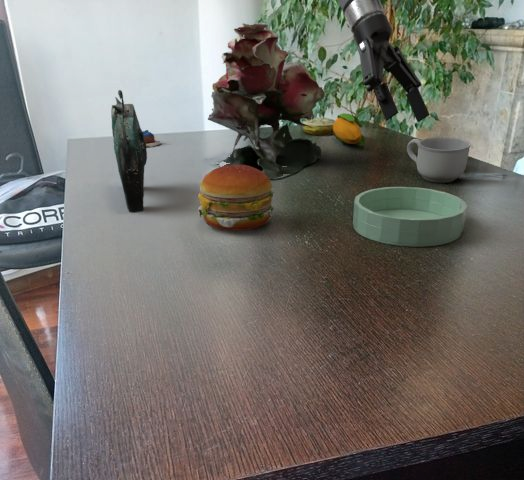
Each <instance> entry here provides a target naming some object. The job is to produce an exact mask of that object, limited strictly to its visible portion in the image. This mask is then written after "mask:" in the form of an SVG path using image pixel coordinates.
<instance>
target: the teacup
mask: <svg viewBox="0 0 524 480" xmlns="http://www.w3.org/2000/svg"><path fill="white" fill-rule="evenodd" d="M415 144H416V145H417V155H416V154H415V152H414V151H413V146H414V145H415ZM471 146H472V145H471V142H470V141H468V140H466V139H463V138H459V137H451V136H431V137H426V138H422V139H419V138H413V139H411V140H410V141H409V142H408V143H407V145H406V152H407V154H408V156H409V158H410V159H411V160H412V161H413V162H414V163H415V164H416V165H415V166H416V169H417V172H418V174H419V175H420V176H422V178H423V179H424V180H425V181H428V182H431V183H437V184H445V183H446V182H447V183H451V182H454V181H455V180H457V178H459V177H461V176H462V175H463V174H464V173H465V170H466V168H467V164H468V161H469V160H468V159H469V153H470V149H471Z"/></svg>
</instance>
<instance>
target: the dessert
mask: <svg viewBox="0 0 524 480" xmlns="http://www.w3.org/2000/svg"><path fill="white" fill-rule="evenodd" d="M142 132H143V135H144V139H145V142H146V146H147V147H150V148H153V147H156V146H159V145H161V144H162V142H161V141H160V140H157V139H155V134H154V133H152V132H151V131H149V130H148V129H145V130H142Z"/></svg>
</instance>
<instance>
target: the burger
mask: <svg viewBox="0 0 524 480" xmlns="http://www.w3.org/2000/svg"><path fill="white" fill-rule="evenodd" d="M262 171H263V170H260V169H258V168H256V167H251V166H247V165H226V166H222V167H219V166H218V167H217V168H214V169H213V170H211V171H209V173H207V174H205V176H203V178H202V180H201V182H200V186H199V191H200V193H198V195H197V197H198V200H199V204H200V206H199V207H198V208H197V209H198V210H197V211H198V216H199V218H203V220H204V222H205V223H206V224H207V225H208V226H210V227H213V228H215V229H221V230H224V231H225V230H226V231H244V230H245V231H247V230H252V229H256V228H260V227H261V226H264V225H266V224H267V222H269V220H270V218H272V217H273V216H272V215H273V211H274V210H275V207H274V206H273V204H272V199H273V197H274V191H273V189H272V188H273V185H272V180H270V179H269V178H268V177H267V176H266V175H265V174H264V173H263V172H262Z"/></svg>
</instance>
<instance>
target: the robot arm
mask: <svg viewBox="0 0 524 480" xmlns="http://www.w3.org/2000/svg"><path fill="white" fill-rule="evenodd" d="M337 2H338V4H339V6H340V8H341V11H342V13H343V16H344V18H345V20H346V22H347V24H346V26H347V28H349V30H350V32H351V34H352V37H353V40H354V42H355V45H356V50H357V52H358V56H359V62H360V67H361V75H362V81H363V85H364V86H365V87H366V90H367V92H369V93H371V92H372V91H373V93H374V95H375V98H376V100H377V102H378V106H379V107H380V109H381V112H382V114H383V117H384V119H385V121H389V120H390V119H392V118H394V117H395V116H396V115H398V114H399V110H398V108H397V106H396V102H395V101H394V100H395V99H394V98H393V95H392V93H391V91H390V88H389V87H388V84H387V82H384V81H383V80H384V70H385V71H386V73H390V74H391V75H392V76H393V77H394V79H395V80H396V81H397V82H398V84H399V85H400V86H401V87H402V88H403V90H404V91H405V93H406V94H405V96H406V98H407V101H408V103H409V106H410V108H411V110H412V113H413V115H414V118H415V120H416V123H420V122H421V121H423V120H424V119H426V118H427V117H429V116H430V113H429V111H428V108H427V106H426V103H425V101H424V98H423V97H422V94H421V91H420V89H419V88H420V87H421V86H422V82H421V81H420V79H419V78H418V77H417V75H416V73H415V71H414V70H413V68H412V67H411V66H410V64H409V63H408V61H407V60H406V58H405V56H404V54H403V52H402V51H401V49H400V47H399V46H398V45H396V46H394V47H393V45H392V44H391V43H390V38H391V36H392V35H393V29H392V26H391V23H390V21H389V18H388V17H387V15H386V11H385V8H384V7H383V4H382V2H381V0H337Z"/></svg>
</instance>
